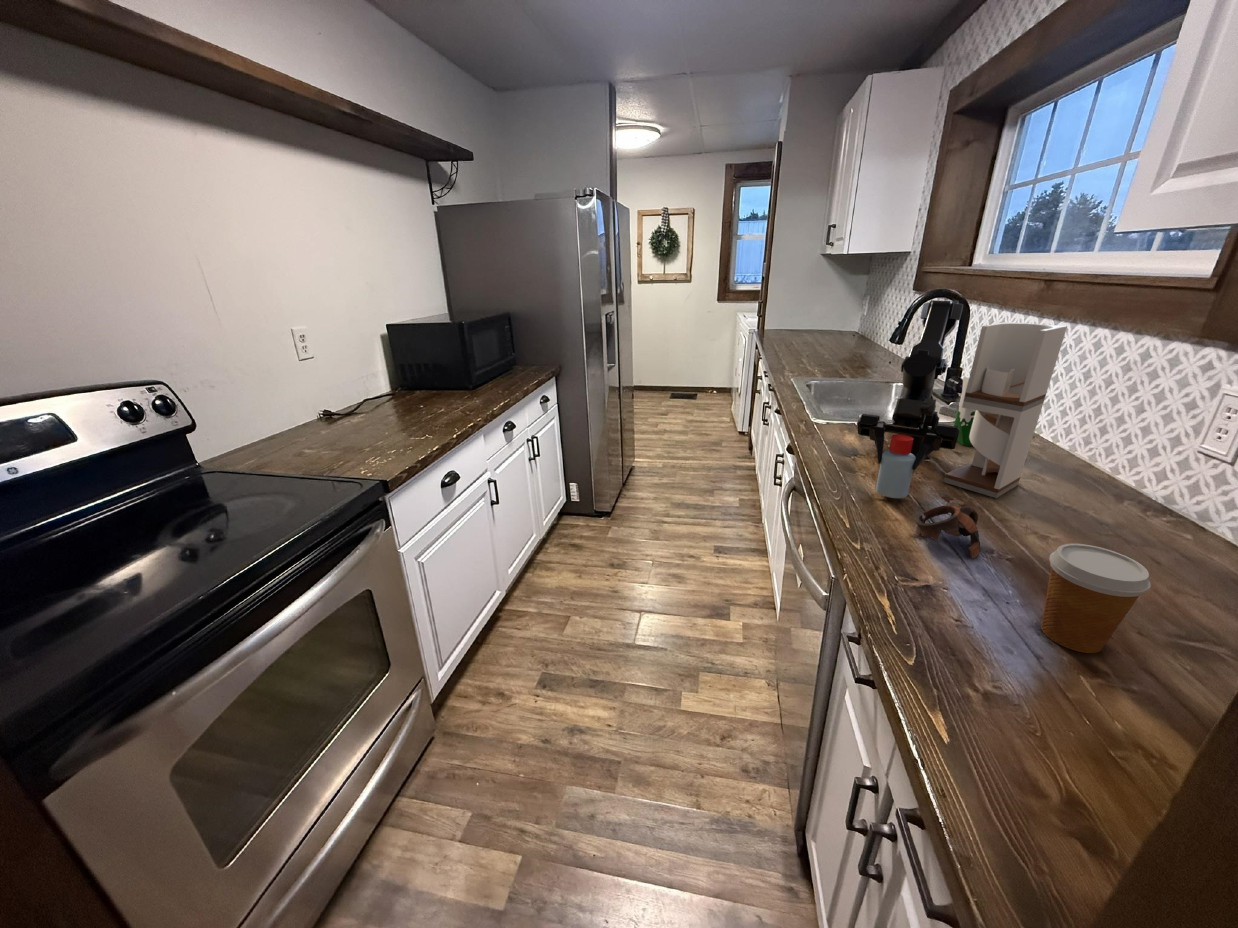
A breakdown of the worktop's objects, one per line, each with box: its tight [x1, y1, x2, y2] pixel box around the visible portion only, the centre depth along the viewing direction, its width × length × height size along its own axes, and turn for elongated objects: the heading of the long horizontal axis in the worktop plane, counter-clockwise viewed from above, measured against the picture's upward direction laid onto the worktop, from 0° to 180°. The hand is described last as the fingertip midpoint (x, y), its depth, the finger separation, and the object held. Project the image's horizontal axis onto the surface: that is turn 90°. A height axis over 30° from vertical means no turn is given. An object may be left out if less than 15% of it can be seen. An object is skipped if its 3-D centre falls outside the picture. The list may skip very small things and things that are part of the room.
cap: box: [888, 433, 913, 455], centre depth 103 cm, size 4×4×3 cm
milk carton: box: [953, 375, 976, 447], centre depth 135 cm, size 9×9×20 cm
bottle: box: [875, 449, 917, 499], centre depth 105 cm, size 6×6×12 cm
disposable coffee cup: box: [1040, 543, 1152, 654], centre depth 64 cm, size 10×10×12 cm
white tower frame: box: [942, 321, 1068, 499], centre depth 106 cm, size 11×11×35 cm
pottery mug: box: [915, 504, 982, 559], centre depth 89 cm, size 12×10×8 cm
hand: (896, 466), depth 103 cm, fingers closed on bottle, 6 cm apart
